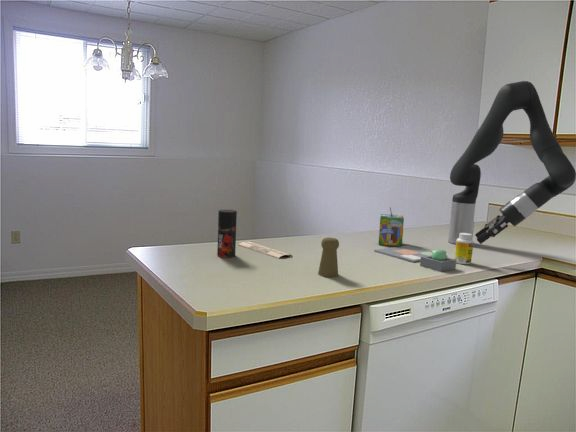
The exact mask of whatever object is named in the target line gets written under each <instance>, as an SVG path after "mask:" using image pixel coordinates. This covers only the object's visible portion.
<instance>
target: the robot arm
mask: <svg viewBox="0 0 576 432" xmlns="http://www.w3.org/2000/svg"><path fill="white" fill-rule="evenodd" d="M519 110H523V111H524V112H525V114H526V116H527V117H528V120H529V138H530V139H529V140H530V144H531V146H532V148H533V150H534V152H535V153H536V155H537V158H538V159H539V160H540V162H541V163H542V164H543V165H544V168H545V170H546V171H547V173H548V176H547V177H545V178H544V179H542V180H541V181H540V182H535V183H534V184H532V185H531V186H528V188H527V189H525V190H524V191H523V192H521V193H520V194H517V195H516V196H515V197H513V198H512V199H511V200H509V201H508V202H507V203H505V204H504V205H502V206H501V207H500V208H499V210H498V211H499V212H500V213H501V214H502V215H500V214H498V215H496V216H495V218H493V219H492V220H490V221H489V222H487V223H486V224H484V227H483V228H481V229H480V230H479V231H478V232H476V233H475V237H476V241H477V242H478V243H479V244H480V245H481V244H483V243H484V242H486V241H487V240H489V239H490V238H495V237H496V236H497V235H499V234H500V233H501V232H502V231H504V230H505V229H507V228H508V227H509V224H511V225H512V227H516V226H518V225H519V224H520V223H522V222H523V221H524V220H526V219H527V218H529V217H530V216H532V215H533V214H534V213H535V212H536V211H538V209H540V208H541V207H542V206H544V205H545V204H546V203H548V202H549V201H550V200H551V199H553V198H555V197H557V196H558V195H560V194H562V193H563V192H565V191H567V190H569V188H571V187H572V186H573V185H574V184H575V182H576V169H575V168H574V165H573V164H572V162H571V161H570V159H569V158H568V157H567V155H566V154H565V153H564V151H563V149H562V146H561V145H560V143H559V142H558V140H557V138H556V136H555V134H554V133H553V131H552V128H551V127H550V124H549V122H548V119H547V116H546V114H545V111H544V107H543V105H542V102H541V99H540V96H539V94H538V92H537V89H536V87H535V85H534V84H533V83H532V82H531V81H527V80H522V81H517V82H511V83H506V84H504V85H503V86H501V87H500V88H499V90H498V92H497V94H496V96H495V98H494V100H493V102H492V104H491V107H490V109H489V111H488V112H487V114H486V116H485V117H484V120H483V122H481V123H482V124H480V126H479V128H478V129H477V131H476V132H475V134H474V135H473V137H472V140H471V141H470V143H469V144H468V146H467V148H466V149H465V151H464V152H463V153H462V154H461V156H460V157H459V159H457V161H456V162H455V164H454V165H453V166H452V169H451V170H450V173H449V175H450V176H449V180H450V182H451V184H452V185H454V186H461V187H465V188H464V190H462V191H461V192H458V193H455V194H453V196H452V199H451V201H452V202H451V209H450V219H449V229H448V239H447V241H448V243H450V244H455V245H456V240H457V239H458V238H459V235H460V233H469V234H472V238H471V240H473V237H474V231H475V230H474V228H475V213H476V203H477V198H478V196H479V190H480V189H479V188H480V183H481V179H482V178H481V176H482V171H481V168H480V166H479V164H476V163H479V162H480V161H482V160H484V159H486V158H487V157H489V156H491V155H492V154H493V153H494V152H495V150H497V148H498V146H499V145H500V144H501V142H502V140H503V138H504V123H505V121H506V119H507V118H508V116H510V114H511V113H512V112H513V111H519Z"/></svg>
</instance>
